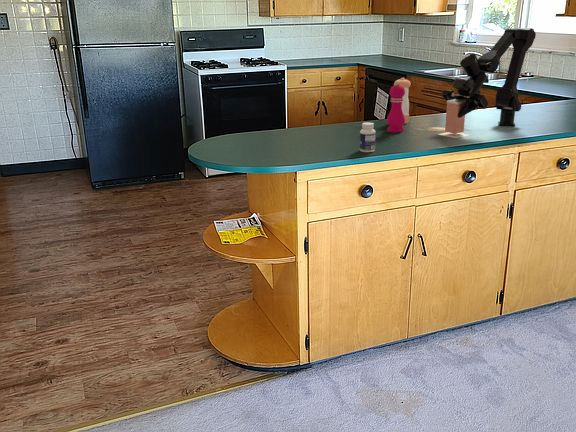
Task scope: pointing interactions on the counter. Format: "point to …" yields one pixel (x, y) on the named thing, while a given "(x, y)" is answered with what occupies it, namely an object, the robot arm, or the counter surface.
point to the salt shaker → (405, 98)
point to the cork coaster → (436, 129)
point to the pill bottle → (367, 137)
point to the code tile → (454, 135)
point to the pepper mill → (396, 109)
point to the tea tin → (454, 116)
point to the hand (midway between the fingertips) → (453, 116)
